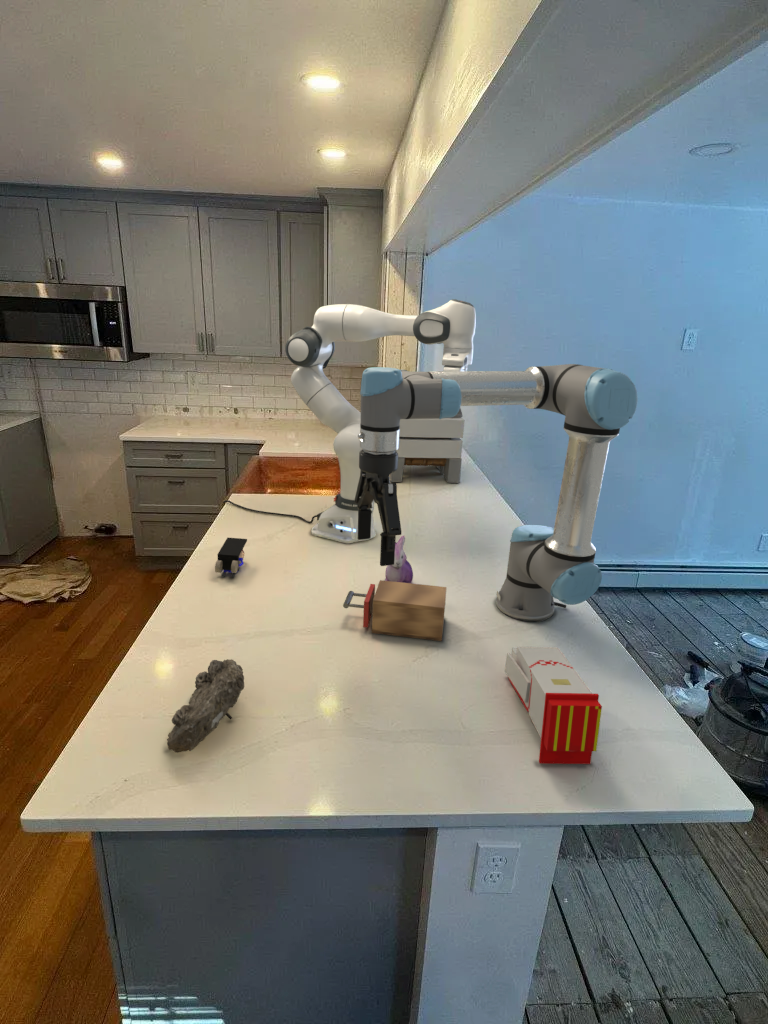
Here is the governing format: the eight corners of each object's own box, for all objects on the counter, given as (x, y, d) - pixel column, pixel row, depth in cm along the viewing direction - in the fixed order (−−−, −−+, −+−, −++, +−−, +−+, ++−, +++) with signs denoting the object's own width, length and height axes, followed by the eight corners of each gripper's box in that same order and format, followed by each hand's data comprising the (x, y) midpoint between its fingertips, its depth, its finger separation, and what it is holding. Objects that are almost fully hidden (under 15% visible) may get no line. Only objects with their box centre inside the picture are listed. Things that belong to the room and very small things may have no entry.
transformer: (382, 463, 289) (386, 382, 275) (445, 464, 293) (451, 384, 279) (390, 482, 257) (394, 392, 243) (460, 483, 261) (468, 394, 247)
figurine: (391, 596, 156) (394, 546, 151) (375, 580, 164) (377, 533, 159) (421, 590, 160) (424, 541, 155) (403, 575, 169) (406, 528, 163)
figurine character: (238, 584, 162) (249, 557, 175) (236, 562, 158) (247, 536, 172) (215, 584, 161) (227, 556, 175) (212, 561, 158) (225, 535, 171)
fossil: (192, 660, 117) (244, 628, 112) (224, 691, 120) (276, 661, 115) (142, 746, 98) (202, 712, 93) (182, 779, 101) (242, 748, 96)
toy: (554, 629, 125) (611, 701, 96) (548, 684, 128) (602, 772, 98) (500, 628, 125) (540, 700, 95) (495, 684, 127) (533, 771, 98)
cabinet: (371, 633, 138) (373, 600, 135) (378, 611, 148) (379, 580, 145) (441, 641, 136) (444, 607, 133) (443, 618, 146) (446, 587, 143)
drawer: (341, 624, 140) (341, 599, 137) (349, 605, 149) (349, 581, 146) (427, 634, 137) (429, 608, 135) (430, 614, 146) (432, 590, 143)
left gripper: (452, 354, 180) (449, 398, 184) (441, 359, 161) (437, 408, 166) (472, 356, 178) (468, 400, 183) (463, 361, 160) (458, 410, 164)
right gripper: (341, 437, 119) (339, 530, 126) (384, 468, 97) (379, 579, 104) (374, 435, 122) (371, 527, 129) (423, 465, 100) (416, 574, 107)
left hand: (453, 404), depth 174 cm, fingers open, 8 cm apart
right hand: (374, 551), depth 117 cm, fingers open, 13 cm apart
